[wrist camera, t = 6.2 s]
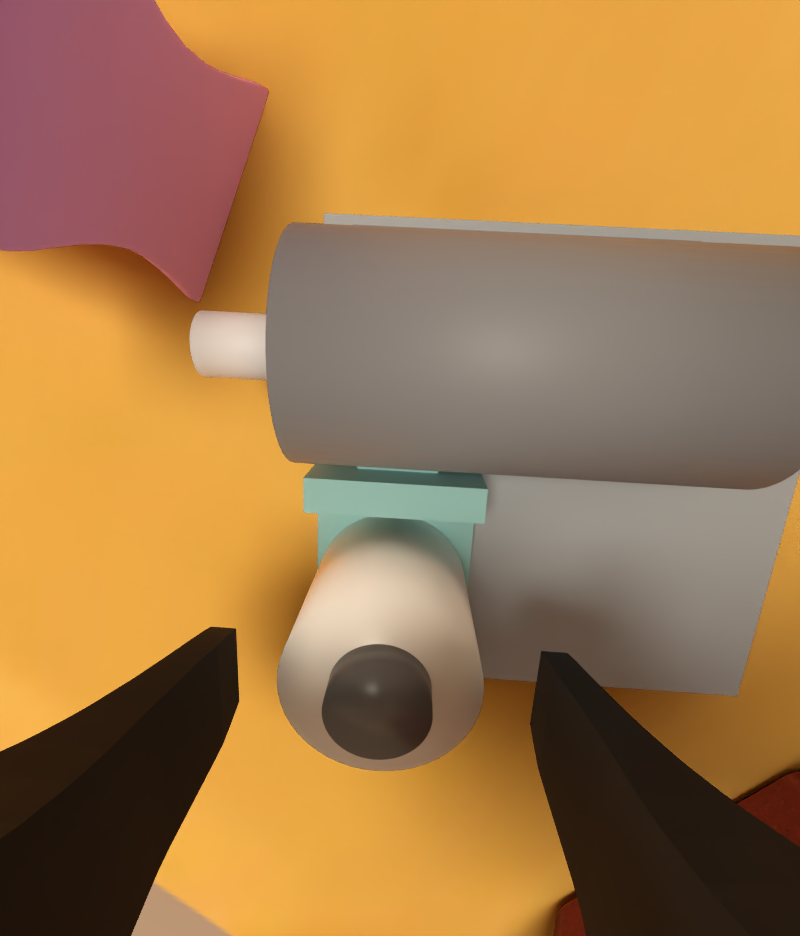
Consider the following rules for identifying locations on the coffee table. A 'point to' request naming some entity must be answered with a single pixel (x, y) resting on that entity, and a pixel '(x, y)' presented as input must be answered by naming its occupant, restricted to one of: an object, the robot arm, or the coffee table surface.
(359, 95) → the coffee table surface
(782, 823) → the plant pot
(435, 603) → the cream canister
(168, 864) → the coffee table surface
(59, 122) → the toy chair
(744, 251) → the motor assembly
